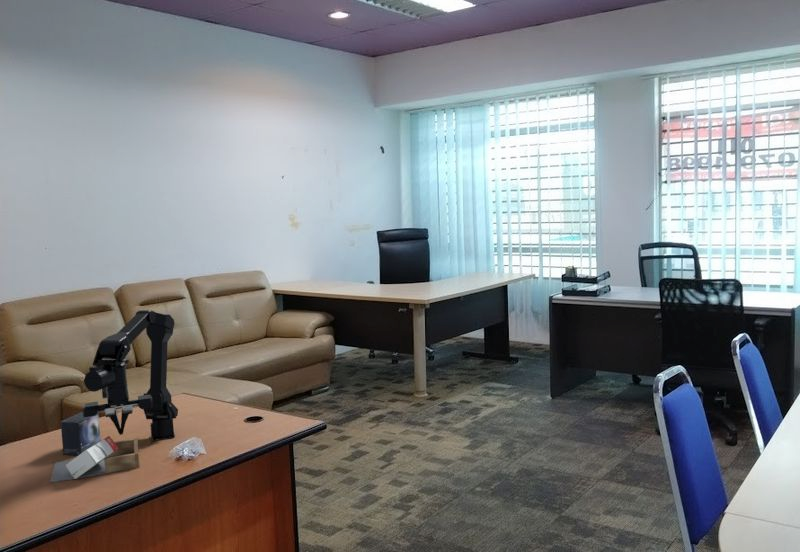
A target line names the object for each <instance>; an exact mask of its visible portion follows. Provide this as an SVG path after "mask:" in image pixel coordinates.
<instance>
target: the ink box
mask: <svg viewBox="0 0 800 552" xmlns="http://www.w3.org/2000/svg"><path fill="white" fill-rule="evenodd" d="M114 442H115V441H114V439H112V438H111V436H110V435H108V436H107V437H105V438H103V439H102V440H101V441H100V442H98V443H97V444H95V445H93V446H92V447H90V448H89V449H87V450H85V451H84V452H83V453H81V454H80V455H76V456H75V458H73V459H71V460H72V461H70V462H69V463H68V464H66V465H65V466H66V468H67V470H68V471H69V472H70V474H71V475H72V476H73V478H74V479H73V480H76V478H77V479H79V478H78V477H79V476H81V475H82V474H84V473H85V472H87V471H88V470H90V469H91V468H92V467H94V466H95V465H97V464H98V463H100V462H101V461H102V460H104V458H109V457H108V456H109V455H110V454H112V453H113V452H115V451H116V450H117V449H118V447H117V445H116V444H115V443H114Z"/></svg>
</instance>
